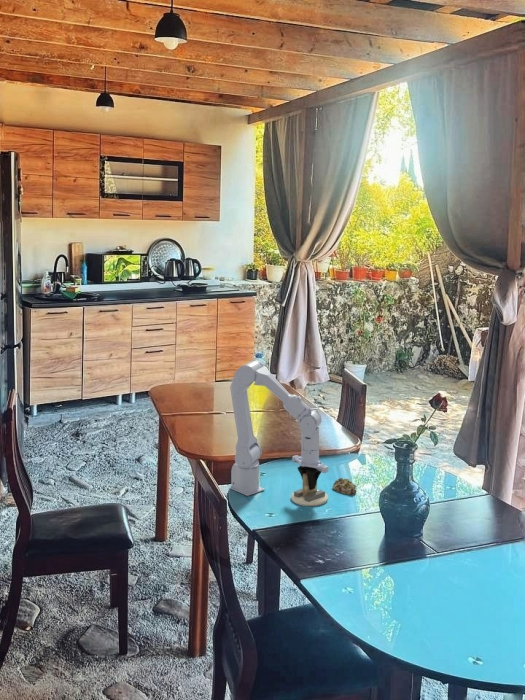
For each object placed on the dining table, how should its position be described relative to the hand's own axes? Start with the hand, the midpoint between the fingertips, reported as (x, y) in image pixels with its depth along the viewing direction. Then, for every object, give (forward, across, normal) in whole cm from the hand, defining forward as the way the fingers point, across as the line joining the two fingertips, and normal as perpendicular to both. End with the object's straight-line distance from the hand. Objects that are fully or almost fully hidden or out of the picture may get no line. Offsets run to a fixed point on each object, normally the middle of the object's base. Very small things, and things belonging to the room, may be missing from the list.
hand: (309, 488), depth 238 cm
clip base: (+4, 0, 0) cm, 4 cm away
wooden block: (+3, 0, 0) cm, 3 cm away
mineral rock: (+4, +2, +15) cm, 16 cm away
